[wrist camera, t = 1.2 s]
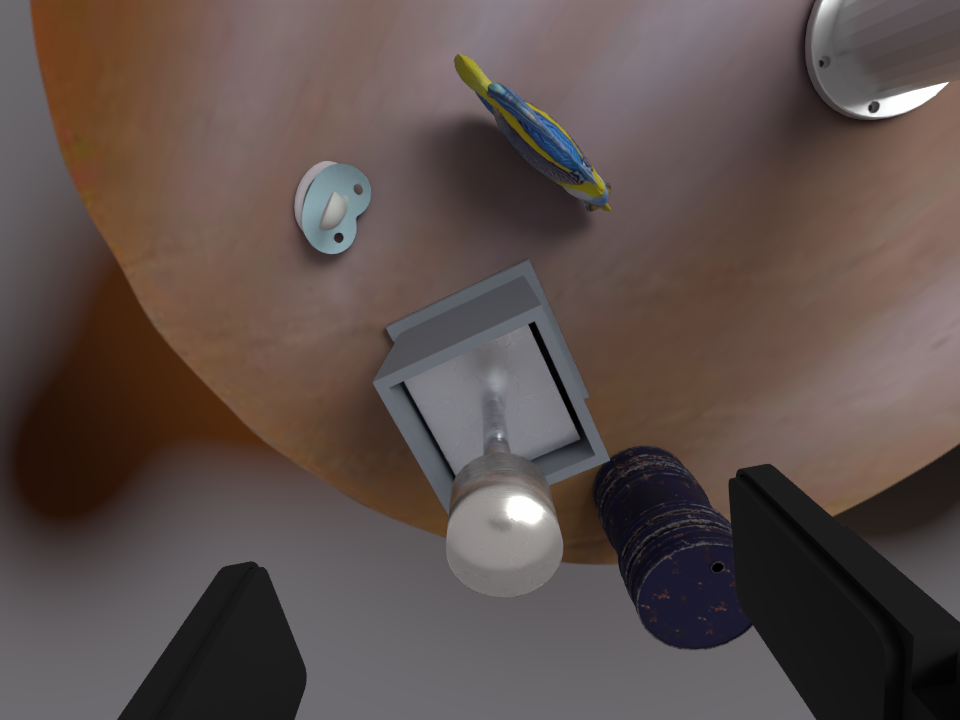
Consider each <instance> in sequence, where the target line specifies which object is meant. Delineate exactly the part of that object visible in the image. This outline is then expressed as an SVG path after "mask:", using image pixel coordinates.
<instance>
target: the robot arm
mask: <svg viewBox="0 0 960 720" xmlns="http://www.w3.org/2000/svg"><path fill="white" fill-rule="evenodd" d="M805 59H806V64H807V69H808V74H809V77H810V79H811V81H812V84H813V86H814V88H815V90H816V91H817V93H818V94H819V95H820V97H821V98H822V100H823V101H824V102H825V103H827V104H828V105H829V106H830V107H831V108H832V109H833V110H835V111H837V112H839V113H841V114H843V115H845V116H847V117H851V118H855V119H859V120H878V119H884V118H890V117H894V116H897V115H901V114H905V113H907V112H909V111H911V110H913V109H915V108H918V107H920V106H921V105H923V104H924V103H926V102H927V101H929V100H930V99H931V98H933V97H934V96H935V95H937V94H938V93H939V92H940V91H941V90H942V89H943V88H944V87H945V86H946V85H947V84H948V83H949V82H951V81H955V80H959V79H960V0H816V1H815V3H814V5H813V8H812V12H811V15H810V18H809V21H808V25H807V31H806V38H805ZM819 63H820V66H819ZM729 500H730V514H731V528H732V542H733V556H734V570H735V585H736V593H737V597H738V600H739V603H740V605H741V607H742V609H743V611H744V612H745V614H746V615H747V617H748V618H749V620H750V621H751V623H752V624H753V626H754V627H755V629H756V630H757V632H758V633H759V635H760V636H761V638H762V639H763V641H764V642H765V644H766V645H767V647H768V648H769V650H770V651H771V653H772V654H773V655H774V657H775V658H776V660H777V661H778V663H779V664H780V666H781V667H782V669H783V670H784V672H785V673H786V675H787V676H788V678H789V679H790V681H791V682H792V684H793V685H794V686H795V688H796V690H797V691H798V693H799V694H800V696H801V697H802V699H803V700H804V702H805V703H806V705H807V706H808V708H809V709H810V711H811V712H812V714H813V715H814V717H815V718H816V720H960V622H959V621H958V620H956V619H955V618H954V617H953V616H952V615H951V614H949V613H948V612H947V611H946V610H945V609H944V608H942V607H941V606H940V605H939V604H938V603H937V602H935V601H934V600H933V599H932V598H931V597H929V596H928V595H927V594H926V593H925V592H924V591H923V590H921V589H920V588H919V587H918V586H917V585H915V584H914V583H913V582H912V581H911V580H909V579H908V578H907V577H906V576H905V575H904V574H903V573H901V572H900V571H899V570H898V569H897V568H896V567H895V566H893V565H892V564H891V563H890V562H889V561H888V560H886V559H885V558H884V557H883V556H882V555H881V554H879V553H878V552H877V551H876V550H875V549H873V548H872V547H871V546H870V545H869V544H868V543H867V542H865V541H864V540H863V539H862V538H861V537H860V536H858V535H857V534H856V533H855V532H854V531H852V530H851V529H849V528H848V527H846V526H842V525H841V524H840V523H839V522H837V521H836V520H835V519H834V518H833V517H832V516H830V515H829V514H828V513H827V512H826V511H825V510H824V509H822V508H821V507H820V506H819V505H818V504H817V503H815V502H814V501H813V500H812V499H811V498H810V497H809V496H807V495H806V494H805V493H804V492H803V491H802V490H800V489H799V488H798V487H797V486H796V485H795V484H794V483H792V482H791V481H790V480H789V479H788V478H787V477H785V476H784V475H783V474H782V473H781V472H780V471H779V470H777V469H776V468H775V467H774V466H772V465H771V464H764V465H758V466H753V467H748V468H742V469H739V470H738V471H737V473H736V478H731V479H730V480H729ZM306 677H307V676H306V668H305V665H304V662H303V660H302V657H301V655H300V652H299V650H298V647H297V645H296V642H295V640H294V637H293V635H292V632H291V630H290V627H289V625H288V622H287V620H286V617H285V614H284V612H283V609H282V607H281V604H280V602H279V600H278V597H277V594H276V592H275V589H274V587H273V585H272V582H271V579H270V577H269V574H268V572H267V570H266V569H265V568H264V567H259V566H258V565H257V564H256V563H255V562H246V563H240V564H235V565H229V566H225V567H223V568H222V569H221V570H220V571H219V572H218V573H217V575H216V576H215V578H214V579H213V581H212V582H211V584H210V585H209V586H208V588H207V590H206V591H205V592H204V594H203V595H202V597H201V598H200V600H199V601H198V603H197V604H196V606H195V607H194V608H193V610H192V611H191V613H190V614H189V616H188V617H187V619H186V620H185V621H184V623H183V625H182V626H181V627H180V629H179V630H178V632H177V633H176V635H175V636H174V638H173V639H172V641H171V642H170V643H169V645H168V646H167V648H166V649H165V651H164V652H163V654H162V655H161V657H160V658H159V659H158V661H157V663H156V664H155V665H154V667H153V668H152V670H151V671H150V673H149V674H148V675H147V677H146V678H145V680H144V681H143V683H142V684H141V686H140V687H139V689H138V690H137V692H136V693H135V694H134V696H133V698H132V699H131V700H130V702H129V703H128V705H127V706H126V708H125V709H124V710H123V712H122V713H121V715H120V716H119V718H118V719H117V720H294V719H295V716H296V713H297V710H298V708H299V705H300V702H301V698H302V696H303V693H304V690H305V686H306Z"/></svg>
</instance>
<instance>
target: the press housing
mask: <svg viewBox="0 0 960 720" xmlns="http://www.w3.org/2000/svg"><path fill="white" fill-rule="evenodd" d="M525 325H529V327H530V330H531V332H532V334H533V336H534V338H535V341H536V343H537V345H538V347H539V349H540V352H541V354H542V356H543V358H544V360H545V363H546V365H547V367H548V369H549V371H550V373H551V376H552V378H553V380H554V382H555V384H556V387H557V389H558V391H559V393H560V395H561V398H562V400H563V402H564V404H565V406H566V409H567V411H568V413H569V415H570V417H571V420H572V422H573V424H574V426H575V428H576V430H577V433H578V435H579V437H580V439H579V440H577V441H575V442H572V443H570V444H568V445H565V446H563V447H560V448H558V449H556V450H553V451H551V452H549V453H546V454H544V455H541V456H539V457H537V458H534V459H532V460H530V461H531V462H533V463H534V464H535V465H537V466H538V467H539V468H540V470H541V471H542V472H543V473H544V475H545V477H546V479H547V481H548V484H549V486H550V485H552V484H554V483H557V482H559V481H562V480H564V479H567V478H569V477H571V476H574V475H576V474H579V473H581V472H584V471H586V470H588V469H591V468H593V467H596V466H598V465H601V464H603V463H605V462H608V461H610V458H609V456H608V453H607V451H606V449H605V447H604V444H603V442H602V440H601V437H600V435H599V433H598V431H597V428H596V426H595V424H594V422H593V419H592V417H591V415H590V413H589V410H588V408H587V406H586V404H585V401H584V399H586V398H588V397H589V394H588V392H587V390H586V387H585V385H584V383H583V381H582V378H581V376H580V374H579V371H578V369H577V367H576V365H575V362H574V360H573V358H572V355H571V353H570V351H569V349H568V346H567V344H566V342H565V339H564V337H563V335H562V333H561V330H560V328H559V326H558V324H557V321H556V319H555V317H554V314H553V312H552V310H551V308H550V305H549V303H548V301H547V298H546V296H545V294H544V292H543V289H542V287H541V285H540V282H539V280H538V278H537V276H536V273H535V271H534V269H533V266H532V264H531V262H530V260H529V258H527V259H525V260H523V261H521V262H519V263H517V264H515V265H513V266H511V267H508V268H506V269H504V270H502V271H500V272H498V273H496V274H494V275H492V276H489V277H487V278H485V279H483V280H481V281H479V282H477V283H475V284H473V285H471V286H468V287H466V288H464V289H462V290H460V291H458V292H456V293H454V294H452V295H449V296H447V297H445V298H443V299H441V300H439V301H437V302H435V303H433V304H430V305H428V306H426V307H424V308H422V309H420V310H418V311H416V312H414V313H411V314H409V315H407V316H405V317H403V318H401V319H399V320H397V321H395V322H393V323H390V324H388V325H387V326H386V329H387V331H388V333H389V335H390V337H391V339H392V340H393V342H394V345H393V347H392V349H391V350H390V352H389V354H388V356H387V357H386V359H385V361H384V363H383V364H382V366H381V368H380V370H379V371H378V373H377V375H376V377H375V378H374V380H373V382H372V383H373V385H374V386H375V388H376V390H377V392H378V393H379V395H380V397H381V399H382V400H383V402H384V404H385V406H386V407H387V409H388V411H389V413H390V414H391V416H392V418H393V420H394V421H395V423H396V425H397V427H398V428H399V430H400V432H401V434H402V435H403V437H404V439H405V441H406V442H407V444H408V446H409V448H410V449H411V451H412V453H413V455H414V456H415V458H416V460H417V462H418V463H419V465H420V467H421V469H422V470H423V472H424V474H425V476H426V477H427V479H428V481H429V483H430V484H431V486H432V488H433V490H434V491H435V493H436V495H437V497H438V498H439V500H440V502H441V504H442V505H443V507H444V509H445V511H446V512H447V514H448V516H449V505H450V494H451V488H452V485H453V482H454V480H455V478H456V475H455V474H454V472H453V470H452V468H451V466H450V464H449V463H448V461H447V459H446V457H445V455H444V454H443V452H442V450H441V448H440V446H439V444H438V443H437V441H436V439H435V437H434V435H433V434H432V432H431V430H430V428H429V426H428V425H427V423H426V421H425V419H424V417H423V415H422V414H421V412H420V410H419V408H418V406H417V405H416V403H415V401H414V399H413V397H412V396H411V394H410V392H409V390H408V388H407V386H406V385H405V383H404V381H405V380H407V379H409V378H412V377H414V376H416V375H418V374H420V373H423V372H425V371H427V370H429V369H431V368H433V367H436V366H438V365H440V364H442V363H444V362H447V361H449V360H451V359H453V358H455V357H458V356H460V355H462V354H464V353H466V352H469V351H471V350H473V349H475V348H477V347H479V346H482V345H484V344H486V343H488V342H490V341H493V340H495V339H497V338H499V337H501V336H504V335H506V334H508V333H510V332H512V331H514V330H517V329H519V328H521V327H523V326H525Z"/></svg>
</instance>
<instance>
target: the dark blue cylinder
mask: <svg viewBox="0 0 960 720" xmlns="http://www.w3.org/2000/svg"><path fill="white" fill-rule="evenodd" d="M593 498H594V502H595V505H596V508H597V510H598V514H599V518H600V521H601V524H602V526H603V528H604V531H605V532H606V535H607V537H608V539H609V541H610V543H611V545H612V546H613V547H614V549H615V550H616V552H617V554H618V563H619V569H620V572H621V576H622V578H623V580H624V583H625V586H626V588H627V591H628V594H629V596H630V598H631V600H632V601H633V603H634V605H635V607H636V611H637V613H638V616H639V618H640V621H641V623H642V624H643V626H644V628H645V629H646V630H647V632H648V633H649V634H651V635H652V636H653V637H654V638H655V639H657V640H658V641H660V642H661V643H663V644H666V645H668V646H670V647H674V648H678V649H684V650H705V649H711V648H715V647H719V646H721V645H724V644H727V643H729V642H731V641H733V640H735V639H737V638H738V637H740V636H741V635H743V634H744V633H746V632H747V631H748V630H749V629H750V628H751V627H752V626H753V624H752V623H751V621H750V620H749V618H748V617H747V615H746V614H745V612H744V611H743V609H742V607H741V605H740V603H739V600H738V597H737V593H736V585H735V570H734V556H733V542H732V528H731V524H730V522H729V521H728V520H727V519H726V518H725V517H724V516H722V515H721V514H720V513H719V512H717V511H716V510H715V509H713V508H712V506H711V505H710V502H709V500H708V497H707V495H706V494H705V492H704V490H703V489H702V487H701V486H700V484H699V483H698V482H697V480H696V479H695V478H694V477H693V475H692V474H691V473H690V472H689V471H688V470H687V469H686V468H685V467H684V466H683V464H682V463H681V462H680V461H679V460H678V459H677V458H676V457H675V456H674V455H673V454H671V453H670V452H668V451H666V450H664V449H661V448H657V447H652V446H639V447H633V448H629V449H626V450H624V451H621V452H619V453H617V454H616V455H614V456H613V457H611V458H610V461H608V462H606V463H605V464H604V465H603V466H602V467H601V469H600V470H599V472H598V474H597V476H596V478H595V481H594V485H593Z"/></svg>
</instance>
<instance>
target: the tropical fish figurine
mask: <svg viewBox="0 0 960 720" xmlns="http://www.w3.org/2000/svg"><path fill="white" fill-rule="evenodd" d="M454 63H455V68H456V71H457V73H458V74H459V76H460V77H461V79H462V80H463V81H464V82H465V83H466V84H467V85H468V86H469V87H470V88H471V89H473V90H474V91H475V92H476V94H477V96H478V97H479V98H480V100H481V101H482V103H483V104H484V105H485V106H486V108H487V109H488V110H489V111H490V112H491V113H492V114H493V115H494V117H495V120H496V122H497V124H498V126H499V128H500V129H501V131H502V132H503V134H504V136H505V137H506V139H507V140H508V141H509V142H510V144H511V145H512V146H513V147H514V148H515V149H516V151H517V152H518V153H519V154H520V155H521V156H522V157H523V158H524V159H525V160H526V161H527V162H528V163H529V164H530V165H531V166H533V167H534V168H535V169H536V170H538V171H539V172H540V173H542V174H543V175H544V176H546V177H547V178H549V179H551V180H552V181H554V182H556V183H557V184H559V185H561V186H563V188H564V189H565V190H566V191H567V192H568V193H569V194H571V195H572V196H574V197H577V198H578V199H580V200H581V201H582V202H584V203H585V204H586V209H587V211H590V212H591V211H594V210H596V209H598V208H601V209H603V210H605V211H611V208H610V206H609V205H608V203H607V202H608V196H609V193H610V190H611V186H610V184H609V183H604V182H603V180H602V178H601V177H600V176H599V175H598V174H597V173H596V171H595V170H594V168H593V166H592V165H591V163H590V162H589V160H588V159H587V157H586V156H585V155H584V154H583V152H582V151H581V150H580V148H579V146H578V145H577V144H576V143H575V141H574V140H573V139H572V138H571V137H570V135H569V134H568V133H567V132H566V131H565V130H564V129H563V128H562V127H561V126H560V125H559V124H558V123H557V122H556V121H555V120H554V119H553V118H551V117H550V116H548V115H547V114H546V113H545V112H543V111H542V110H540V109H539V108H537V107H536V106H534V105H533V104H531V103H529V102H527V101H525V100H522V99H521V98H520V97H518V96H517V95H516V94H515V93H513V92H512V91H511V90H510V89H508V88H507V87H505V86H503V85H501V84H499V83H491V82H490V80H489V79H488V78H487V77H486V76H485V74H484V73H483V72H482V70H481V69H480V68H479V66H478V65H477V64H476V63H475V62H474V61H473V60H472V59H470V58H469V57H467V56H465V55H461V54H457V55H456V56H455V59H454Z"/></svg>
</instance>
